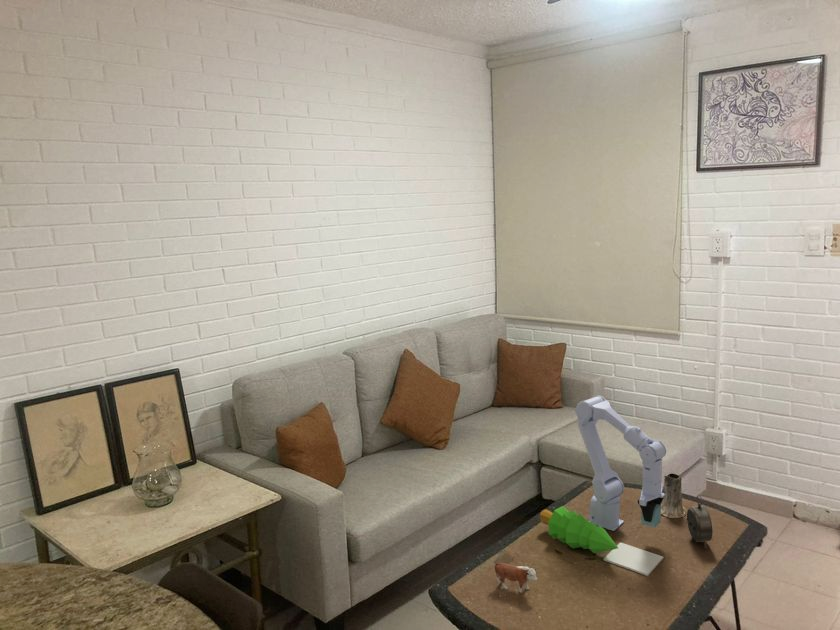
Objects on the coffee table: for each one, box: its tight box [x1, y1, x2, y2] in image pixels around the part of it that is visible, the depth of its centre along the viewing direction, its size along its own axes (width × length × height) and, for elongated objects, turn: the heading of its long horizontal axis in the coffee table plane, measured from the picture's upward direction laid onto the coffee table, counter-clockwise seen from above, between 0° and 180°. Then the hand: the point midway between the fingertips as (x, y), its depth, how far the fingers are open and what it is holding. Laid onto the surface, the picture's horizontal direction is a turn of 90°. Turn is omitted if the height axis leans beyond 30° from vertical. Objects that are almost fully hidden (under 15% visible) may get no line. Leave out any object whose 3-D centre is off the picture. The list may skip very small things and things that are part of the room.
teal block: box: [640, 504, 662, 528], centre depth 215 cm, size 4×4×6 cm
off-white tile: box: [603, 542, 664, 577], centre depth 207 cm, size 14×12×1 cm
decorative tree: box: [539, 505, 618, 554], centre depth 214 cm, size 11×12×30 cm
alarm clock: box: [685, 494, 714, 550], centre depth 214 cm, size 11×5×16 cm, turn 178°
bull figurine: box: [494, 562, 538, 594], centre depth 194 cm, size 4×13×8 cm, turn 58°
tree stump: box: [661, 473, 688, 519], centre depth 235 cm, size 10×10×13 cm
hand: (650, 518), depth 215 cm, fingers closed on teal block, 4 cm apart
